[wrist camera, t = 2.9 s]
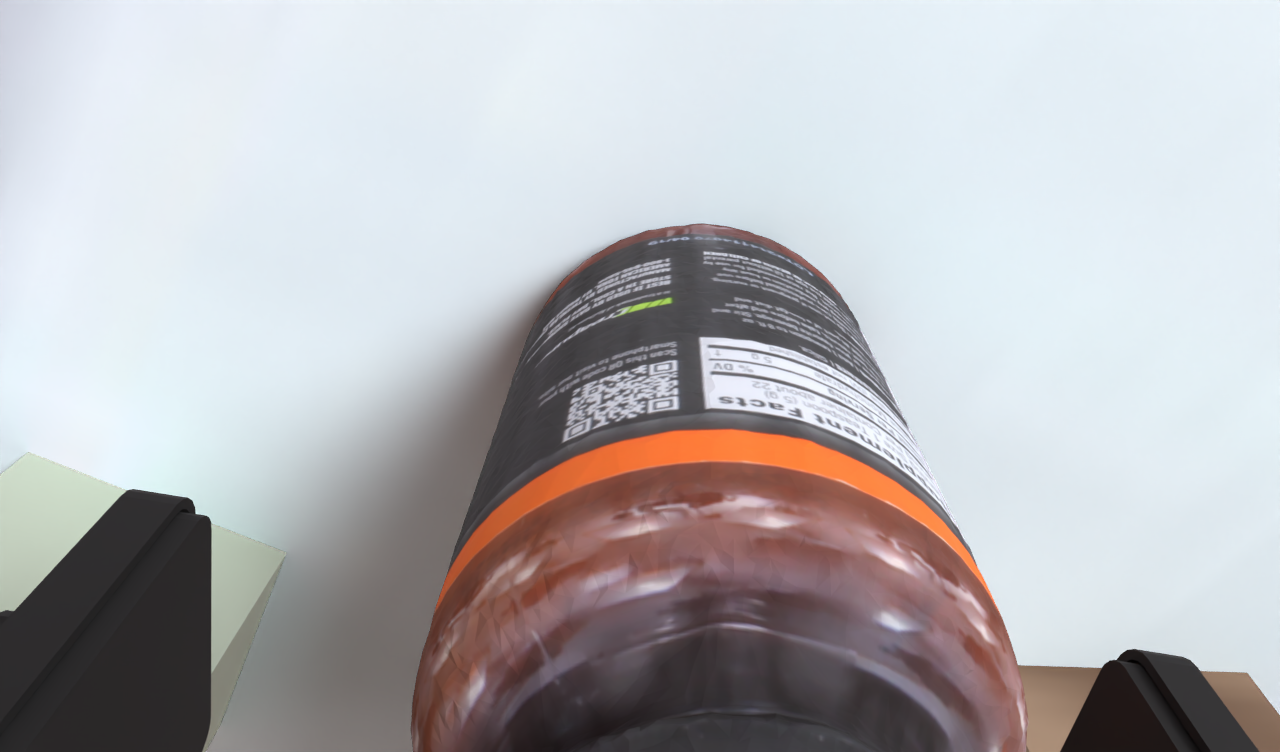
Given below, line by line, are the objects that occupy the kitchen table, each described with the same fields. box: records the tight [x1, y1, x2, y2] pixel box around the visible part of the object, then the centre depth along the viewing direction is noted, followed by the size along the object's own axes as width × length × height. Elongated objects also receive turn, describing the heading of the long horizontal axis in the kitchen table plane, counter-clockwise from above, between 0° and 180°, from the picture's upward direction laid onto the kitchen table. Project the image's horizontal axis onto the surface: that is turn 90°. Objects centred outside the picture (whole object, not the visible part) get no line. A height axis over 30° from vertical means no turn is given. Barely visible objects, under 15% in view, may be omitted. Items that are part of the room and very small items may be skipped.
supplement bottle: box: [411, 224, 1029, 752], centre depth 12 cm, size 6×6×11 cm
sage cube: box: [0, 452, 286, 752], centre depth 17 cm, size 5×5×5 cm
